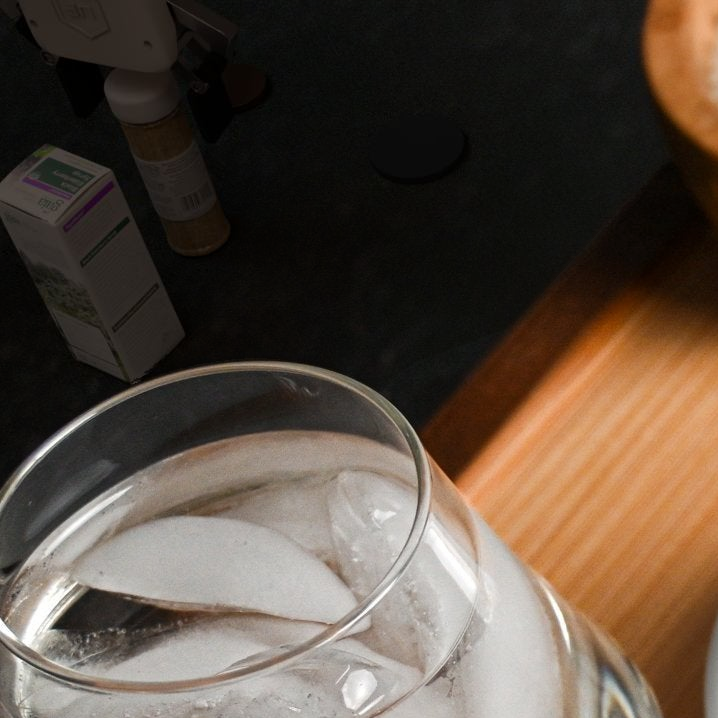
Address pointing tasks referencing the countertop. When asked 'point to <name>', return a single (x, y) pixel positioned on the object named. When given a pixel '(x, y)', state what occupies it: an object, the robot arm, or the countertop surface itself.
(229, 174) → the countertop surface
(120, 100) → the sprinkles bottle
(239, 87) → the back coaster
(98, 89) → the robot arm
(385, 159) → the side coaster
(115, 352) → the syrup box
